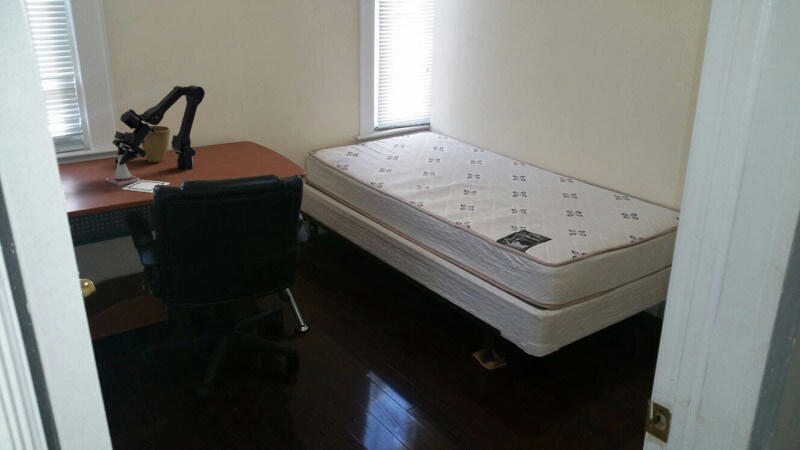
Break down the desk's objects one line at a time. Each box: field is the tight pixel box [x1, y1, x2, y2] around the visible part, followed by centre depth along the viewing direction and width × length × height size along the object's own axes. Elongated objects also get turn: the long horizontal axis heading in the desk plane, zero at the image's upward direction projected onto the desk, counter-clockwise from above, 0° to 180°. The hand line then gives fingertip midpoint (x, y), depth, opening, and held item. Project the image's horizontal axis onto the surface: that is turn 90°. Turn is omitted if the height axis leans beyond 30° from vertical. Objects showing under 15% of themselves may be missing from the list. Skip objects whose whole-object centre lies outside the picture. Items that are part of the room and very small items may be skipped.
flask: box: [114, 154, 133, 179], centre depth 281 cm, size 7×7×10 cm
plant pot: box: [140, 125, 171, 163], centre depth 313 cm, size 15×15×16 cm
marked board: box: [121, 179, 171, 194], centre depth 276 cm, size 14×14×1 cm
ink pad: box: [105, 174, 140, 186], centre depth 282 cm, size 10×10×2 cm
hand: (117, 163), depth 279 cm, fingers closed on flask, 3 cm apart
